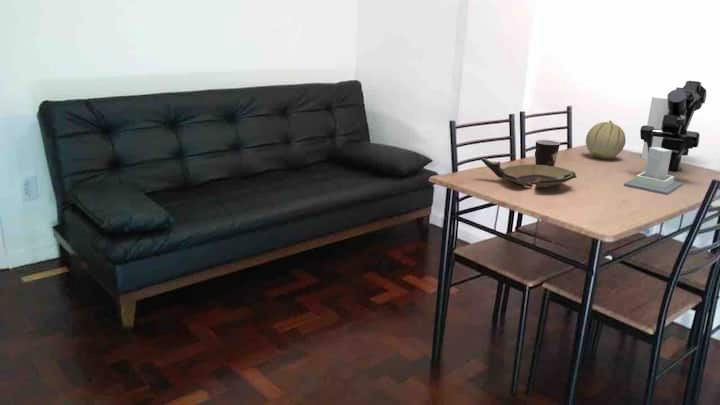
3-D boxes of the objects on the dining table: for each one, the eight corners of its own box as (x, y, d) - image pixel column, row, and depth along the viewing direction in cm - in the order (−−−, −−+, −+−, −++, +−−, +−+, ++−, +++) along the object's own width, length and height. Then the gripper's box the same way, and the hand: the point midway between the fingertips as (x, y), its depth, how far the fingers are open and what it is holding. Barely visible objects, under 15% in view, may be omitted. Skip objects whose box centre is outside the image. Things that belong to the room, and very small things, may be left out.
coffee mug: (547, 165, 232) (550, 139, 228) (561, 171, 224) (564, 144, 221) (520, 166, 228) (524, 140, 225) (534, 172, 220) (537, 145, 217)
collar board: (641, 176, 221) (643, 167, 220) (682, 184, 212) (684, 175, 211) (623, 185, 208) (625, 176, 207) (667, 194, 199) (669, 185, 198)
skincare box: (665, 184, 208) (672, 150, 204) (656, 185, 206) (663, 151, 203) (651, 180, 213) (658, 146, 210) (642, 180, 212) (648, 147, 208)
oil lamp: (561, 200, 190) (565, 176, 187) (473, 182, 206) (475, 160, 203) (581, 185, 207) (585, 163, 205) (499, 169, 223) (501, 149, 221)
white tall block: (637, 156, 252) (648, 95, 244) (653, 156, 252) (665, 96, 245) (647, 160, 245) (659, 98, 237) (663, 160, 246) (676, 98, 238)
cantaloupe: (584, 160, 242) (589, 122, 237) (582, 152, 255) (588, 116, 251) (623, 164, 238) (630, 126, 233) (620, 156, 251) (626, 120, 247)
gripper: (646, 102, 216) (633, 138, 212) (704, 109, 206) (693, 146, 201) (647, 121, 225) (634, 155, 220) (703, 128, 215) (692, 165, 210)
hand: (662, 155), depth 213 cm, fingers open, 9 cm apart
